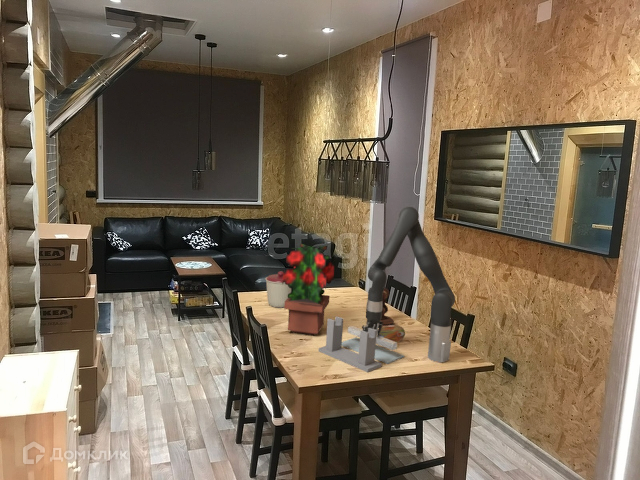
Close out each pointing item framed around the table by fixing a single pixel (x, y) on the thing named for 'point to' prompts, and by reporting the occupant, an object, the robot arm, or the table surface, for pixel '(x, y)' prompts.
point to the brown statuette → (385, 310)
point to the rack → (357, 360)
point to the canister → (277, 290)
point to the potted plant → (307, 288)
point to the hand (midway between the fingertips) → (371, 343)
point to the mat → (380, 352)
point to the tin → (392, 333)
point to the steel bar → (379, 339)
